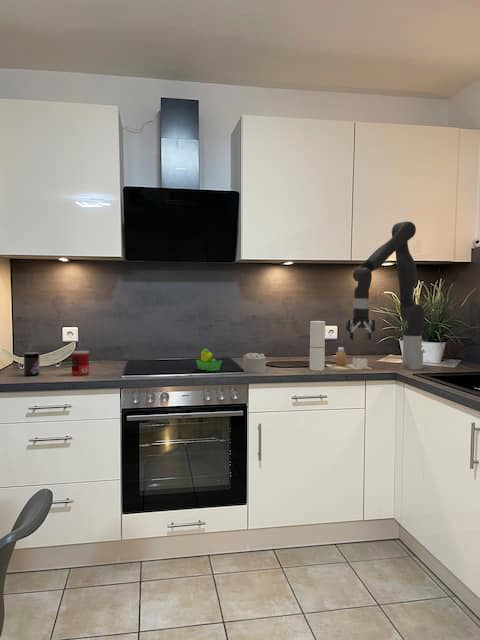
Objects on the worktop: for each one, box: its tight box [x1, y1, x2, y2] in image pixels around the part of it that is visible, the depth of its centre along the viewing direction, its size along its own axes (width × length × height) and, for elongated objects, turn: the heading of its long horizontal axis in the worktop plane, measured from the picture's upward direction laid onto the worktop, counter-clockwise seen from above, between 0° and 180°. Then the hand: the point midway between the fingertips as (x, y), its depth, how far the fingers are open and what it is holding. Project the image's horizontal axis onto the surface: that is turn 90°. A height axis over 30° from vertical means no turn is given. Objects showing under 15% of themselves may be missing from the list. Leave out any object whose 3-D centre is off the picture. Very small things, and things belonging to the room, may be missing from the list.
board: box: [324, 363, 373, 370], centre depth 247 cm, size 20×16×2 cm
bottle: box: [335, 346, 347, 367], centre depth 249 cm, size 5×5×10 cm
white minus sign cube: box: [352, 357, 368, 368], centre depth 244 cm, size 6×6×5 cm
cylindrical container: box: [309, 320, 326, 374], centre depth 237 cm, size 7×7×25 cm
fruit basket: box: [195, 348, 223, 372], centre depth 241 cm, size 11×9×11 cm
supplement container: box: [23, 351, 41, 377], centre depth 225 cm, size 7×7×10 cm
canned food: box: [71, 350, 90, 377], centre depth 227 cm, size 8×8×11 cm
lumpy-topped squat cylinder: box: [242, 352, 266, 374], centre depth 241 cm, size 10×13×9 cm
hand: (360, 340), depth 243 cm, fingers open, 8 cm apart
